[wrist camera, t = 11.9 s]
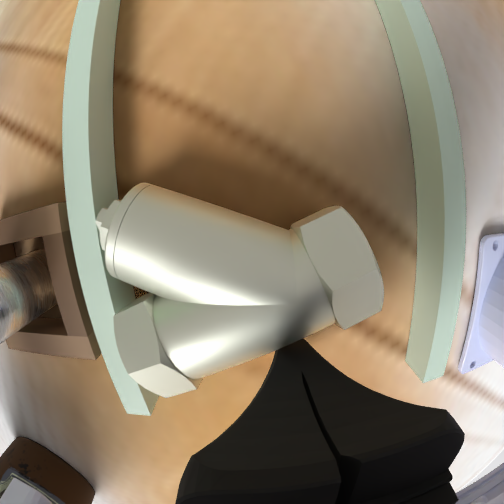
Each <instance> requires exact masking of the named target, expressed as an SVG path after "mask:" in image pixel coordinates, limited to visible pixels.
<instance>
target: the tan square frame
mask: <svg viewBox="0 0 504 504" xmlns="http://www.w3.org/2000/svg"><path fill="white" fill-rule="evenodd" d="M41 236H43V242H44V248H45V253H46V258H47V263H48V267H49V272H50V276H51V280H52V284H53V288H54V292H55V296H56V299H57V303H58V306H59V309H60V313H61V316H62V318H36V319H34V320H33V321H31V322H30V323H29V324H27V325H26V326H24V327H23V328H22V329H20V330H19V331H17V332H16V333H15V334H13V335H12V336H10V337H9V338H8V339H6V343H7V345H8V348H9V349H14V350H20V351H26V352H32V353H38V354H45V355H53V356H61V357H70V358H79V359H90V360H96V359H97V358H98V357H99V356H100V354H101V350H100V347H99V344H98V341H97V338H96V335H95V332H94V329H93V326H92V323H91V319H90V316H89V313H88V309H87V305H86V302H85V298H84V294H83V290H82V286H81V282H80V278H79V274H78V269H77V265H76V260H75V255H74V250H73V244H72V239H71V233H70V226H69V219H68V212H67V203H66V202H60V203H55V204H51V205H48V206H44V207H40V208H37V209H34V210H30V211H27V212H24V213H20V214H17V215H14V216H11V217H8V218H5V219H2V220H0V264H1V263H4V262H6V261H9V260H12V259H14V258H16V255H15V250H14V245H13V242H17V241H22V240H26V239H31V238H36V237H41Z"/></svg>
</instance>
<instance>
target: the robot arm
mask: <svg viewBox="0 0 504 504" xmlns="http://www.w3.org/2000/svg"><path fill="white" fill-rule="evenodd" d="M492 360H495V361H496V362H497V363H498V364H500V365H501V366H502V367H503V368H504V233H500V234H491V235H485V236H484V237H483V238H482V239H481V242H480V249H479V261H478V271H477V280H476V288H475V294H474V301H473V306H472V312H471V317H470V322H469V327H468V331H467V336H466V340H465V344H464V348H463V352H462V355H461V359H460V362H459V366H458V371H459V372H460V373H462V374H465V373H467V372H469V371H471V370H474V369H476V368H478V367H480V366H482V365H484V364H486V363H488V362H490V361H492ZM464 435H465V434H464V432H463V431H462V429H461V428H460V427H459V425H458V424H457V422H456V421H455V419H454V418H453V417H452V416H451V415H450V414H449V412H448V411H447V410H445V409H438V408H431V407H425V406H419V405H414V404H410V403H407V402H403V401H399V400H396V399H393V398H390V397H388V396H385V395H383V394H380V393H378V392H375V391H373V390H371V389H369V388H367V387H365V386H363V385H361V384H359V383H357V382H356V381H354V380H352V379H351V378H349V377H347V376H346V375H344V374H343V373H342V372H340V371H339V370H338V369H336V368H335V367H334V366H332V365H331V364H330V363H329V362H328V361H327V360H325V359H324V358H323V357H322V356H321V355H320V354H319V353H318V352H317V351H316V350H315V349H314V348H313V347H312V346H311V345H310V344H309V343H308V342H307V341H306V340H305V339H300V340H298V341H296V342H294V343H291V344H289V345H287V346H284V347H282V348H280V349H277V350H276V351H275V355H274V359H273V362H272V364H271V367H270V370H269V372H268V374H267V376H266V378H265V380H264V382H263V384H262V386H261V388H260V390H259V391H258V393H257V394H256V396H255V397H254V399H253V400H252V402H251V403H250V405H249V406H248V407H247V408H246V410H245V411H244V412H243V413H242V414H241V416H240V417H239V418H238V419H237V420H236V421H235V422H234V423H233V424H232V425H231V426H230V427H229V428H228V429H227V430H226V431H225V432H223V433H222V434H221V435H220V436H219V437H218V438H217V439H215V440H214V441H213V442H211V443H210V444H209V445H207V446H206V447H204V448H203V449H202V450H200V451H199V452H197V453H196V454H194V455H192V456H191V458H190V460H189V462H188V464H187V466H186V468H185V471H184V473H183V476H182V478H181V481H180V484H179V489H178V494H177V499H176V504H504V463H502V464H501V465H500V466H498V467H497V468H496V469H494V470H493V471H491V472H490V473H488V474H487V475H485V476H484V477H482V478H481V479H479V480H478V481H476V482H474V483H473V484H471V485H469V486H468V487H466V488H464V489H462V490H461V491H459V492H457V493H455V492H454V490H453V488H452V486H451V484H450V483H449V482H450V481H451V480H452V474H451V473H450V471H449V469H448V468H449V467H450V465H451V464H452V462H453V461H454V459H455V457H456V456H457V454H458V453H459V451H460V449H461V447H462V445H463V442H464ZM0 504H52V503H51V502H50V501H49V500H48V499H47V498H46V497H45V496H44V495H43V494H42V493H40V492H39V491H37V490H36V489H34V488H32V487H31V486H29V485H27V484H25V483H23V482H22V481H20V480H18V479H16V478H13V480H12V481H11V483H10V484H9V486H8V487H7V489H6V490H5V492H4V494H3V495H2V497H1V498H0Z"/></svg>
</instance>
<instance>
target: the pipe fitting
mask: <svg viewBox="0 0 504 504" xmlns="http://www.w3.org/2000/svg"><path fill="white" fill-rule="evenodd" d="M95 224H96V225H97V228H98V230H99V233H100V242H101V246H102V250H104V251H105V264H106V268H107V270H108V272H109V274H110V275H111V276H113V277H115V278H117V279H119V280H121V281H124V282H126V283H128V284H131V285H133V286H135V287H138V288H140V289H143V290H145V291H147V292H149V293H147V294H145V295H143V296H141V297H139V298H137V299H135V300H134V301H132V302H131V303H129V304H128V305H126V306H125V307H124V308H122V309H121V310H120V311H118V312H117V313H116V314H115V315H114V316H113V320H114V334H115V340H116V345H117V348H118V352H119V355H120V358H121V360H122V363H123V365H124V367H125V369H126V371H127V373H128V375H129V376H130V377H131V378H132V379H134V380H135V381H136V382H137V383H138V384H140V385H141V386H142V387H144V388H145V389H147V390H149V391H151V392H153V393H155V394H157V395H160V396H162V397H165V398H168V397H171V396H175V395H178V394H182V393H185V392H188V391H192V390H195V389H197V388H198V386H199V385H200V383H201V381H202V380H203V378H204V377H206V376H209V375H212V374H214V373H217V372H220V371H223V370H226V369H229V368H231V367H234V366H237V365H240V364H242V363H245V362H248V361H250V360H253V359H255V358H258V357H260V356H263V355H265V354H268V353H270V352H273V351H275V350H277V349H280V348H282V347H284V346H287V345H289V344H291V343H294V342H296V341H298V340H300V339H303V338H305V337H307V336H309V335H311V334H314V333H316V332H318V331H320V330H322V329H324V328H326V327H328V326H330V325H333V324H336V325H337V326H339V327H340V328H342V329H344V330H345V329H347V328H349V327H351V326H353V325H355V324H357V323H359V322H361V321H363V320H365V319H366V318H368V317H370V316H372V315H374V314H376V313H378V312H380V311H381V310H382V305H383V300H384V285H383V280H382V276H381V272H380V269H379V266H378V263H377V260H376V258H375V255H374V253H373V251H372V249H371V247H370V245H369V242H368V241H367V239H366V237H365V235H364V233H363V232H362V230H361V228H360V227H359V225H358V224H357V223H356V221H355V220H354V219H353V217H352V216H351V215H350V214H349V213H348V212H347V211H346V210H345V209H344V208H343V207H342V206H338V205H337V206H331V207H327V208H324V209H322V210H320V211H318V212H316V213H314V214H311V215H309V216H307V217H305V218H303V219H301V220H299V221H297V222H295V223H292V225H291V229H289V230H287V229H284V228H281V227H278V226H275V225H273V224H270V223H267V222H264V221H261V220H258V219H256V218H253V217H250V216H247V215H244V214H241V213H238V212H235V211H232V210H229V209H226V208H223V207H220V206H217V205H214V204H211V203H208V202H205V201H202V200H199V199H196V198H193V197H190V196H187V195H184V194H181V193H178V192H175V191H172V190H168V189H165V188H162V187H159V186H156V185H152V184H149V183H140V184H137V185H136V186H134V187H133V188H132V189H131V190H130V191H129V192H128V193H127V194H126V195H125V196H124V198H123V199H122V200H114V202H113V203H112V204H111V205H110V206H109V208H102V209H101V210H100V212H99V213H98V216H97V218H96V222H95Z"/></svg>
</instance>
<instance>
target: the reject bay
mask: <svg viewBox="0 0 504 504" xmlns="http://www.w3.org/2000/svg"><path fill="white" fill-rule="evenodd" d="M120 1H121V0H79V2H78V6H77V10H76V14H75V18H74V23H73V28H72V33H71V38H70V44H69V51H68V57H67V65H66V74H65V84H64V98H63V123H62V143H63V169H64V183H65V194H66V203H67V212H68V219H69V226H70V233H71V239H72V244H73V250H74V255H75V260H76V265H77V269H78V274H79V278H80V282H81V286H82V290H83V294H84V298H85V302H86V305H87V309H88V313H89V316H90V319H91V323H92V326H93V329H94V332H95V335H96V338H97V341H98V344H99V347H100V350H101V353H102V355H103V358H104V361H105V363H106V366H107V369H108V371H109V374H110V376H111V379H112V381H113V383H114V386H115V388H116V390H117V393H118V395H119V397H120V399H121V402H122V404H123V406H124V408H125V410H126V412H127V413H128V414H137V415H148V416H151V414H152V412H153V409H154V407H155V404H156V402H157V400H158V397H159V395H157V394H155V393H153V392H151V391H149V390H147V389H145V388H144V387H142V386H141V385H140V384H138V383H137V382H136V381H135V380H134V379H132V378H131V377H130V376H129V375H128V373H127V371H126V369H125V367H124V365H123V363H122V360H121V358H120V355H119V352H118V348H117V345H116V340H115V334H114V320H113V316H114V315H115V314H116V313H117V312H118V311H120V310H121V309H122V308H124V307H125V306H126V305H128V304H129V303H131V302H132V301H134V300H135V299H136V297H135V292H134V288H133V285H131V284H128V283H126V282H124V281H121V280H119V279H117V278H115V277H113V276H111V275H110V274H109V272H108V270H107V268H106V264H105V251H104V250H102V246H101V242H100V233H99V230H98V228H97V225H96V224H95V222H96V218H97V216H98V213H99V212H100V210H101V209H102V208H109V206H110V205H111V204H112V203H113V202H114V200H119V199H118V190H117V180H116V169H115V155H114V136H113V71H114V54H115V41H116V31H117V22H118V14H119V7H120ZM375 1H376V4H377V7H378V9H379V12H380V14H381V17H382V20H383V23H384V26H385V29H386V32H387V35H388V38H389V41H390V44H391V47H392V51H393V54H394V58H395V61H396V65H397V69H398V73H399V77H400V81H401V86H402V90H403V95H404V100H405V105H406V110H407V116H408V122H409V128H410V135H411V142H412V150H413V159H414V169H415V181H416V198H417V264H416V281H415V294H414V304H413V313H412V321H411V328H410V335H409V342H408V348H407V353H406V359H405V361H406V363H407V364H408V365H409V366H410V367H411V369H412V370H413V371H414V372H415V374H416V375H417V376H418V377H419V379H420V380H421V381H422V382H423V383H425V382H428V381H430V380H433V379H436V378H439V377H441V376H443V374H444V371H445V367H446V364H447V360H448V356H449V352H450V348H451V344H452V339H453V335H454V330H455V325H456V320H457V314H458V309H459V302H460V296H461V288H462V280H463V271H464V259H465V243H466V189H465V173H464V162H463V152H462V144H461V137H460V131H459V125H458V119H457V114H456V108H455V104H454V99H453V95H452V90H451V86H450V82H449V79H448V75H447V71H446V68H445V65H444V61H443V58H442V55H441V52H440V49H439V46H438V43H437V40H436V38H435V35H434V32H433V30H432V27H431V24H430V22H429V20H428V17H427V15H426V13H425V10H424V8H423V6H422V4H421V1H420V0H375Z"/></svg>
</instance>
